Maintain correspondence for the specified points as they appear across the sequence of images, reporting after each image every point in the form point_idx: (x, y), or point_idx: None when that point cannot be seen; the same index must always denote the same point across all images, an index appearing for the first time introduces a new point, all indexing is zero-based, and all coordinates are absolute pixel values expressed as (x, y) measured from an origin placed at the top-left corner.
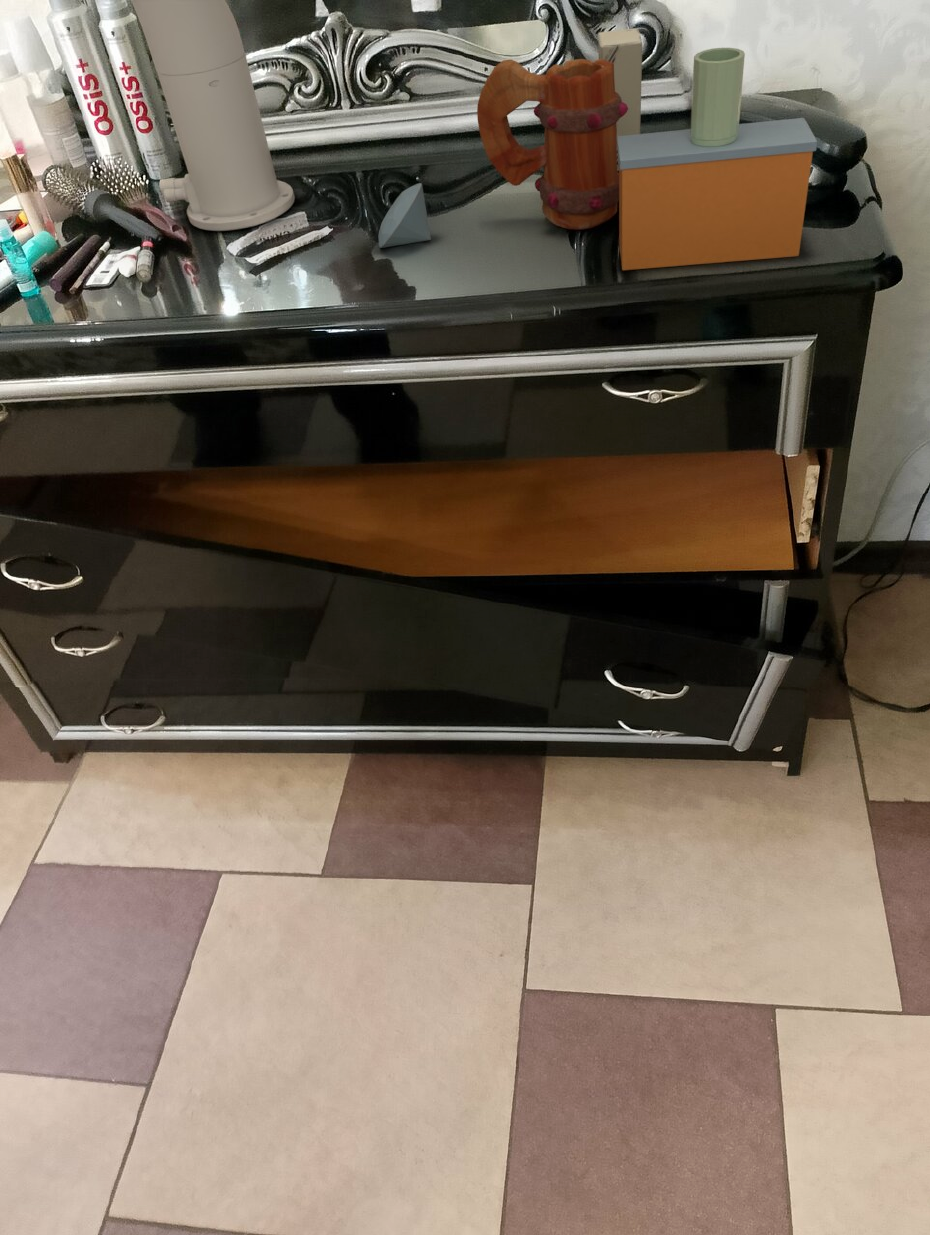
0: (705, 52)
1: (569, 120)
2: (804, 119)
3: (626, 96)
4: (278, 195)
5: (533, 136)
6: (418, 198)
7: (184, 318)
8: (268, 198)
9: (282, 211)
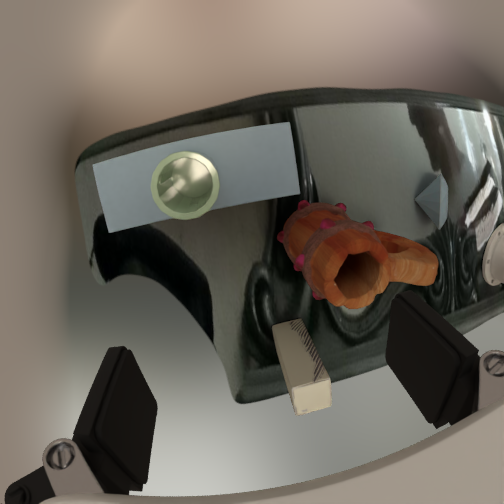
0: (205, 204)
1: (353, 222)
2: (108, 227)
3: (295, 356)
4: (491, 260)
5: (351, 374)
6: (437, 196)
7: (499, 113)
8: (496, 249)
9: (487, 245)
